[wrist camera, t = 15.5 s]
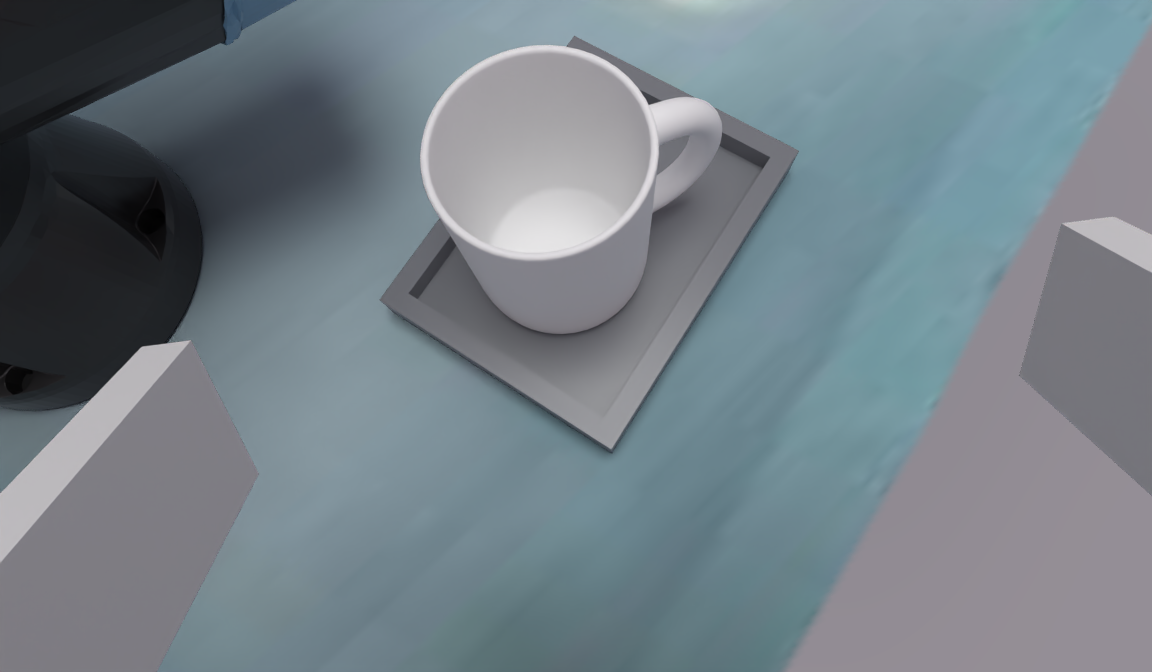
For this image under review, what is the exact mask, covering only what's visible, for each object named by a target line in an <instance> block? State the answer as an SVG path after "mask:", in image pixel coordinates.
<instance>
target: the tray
mask: <svg viewBox="0 0 1152 672" xmlns="http://www.w3.org/2000/svg"><path fill="white" fill-rule="evenodd" d="M567 47H570V48H574V49H579V50H582V51H585V52H588V53H591V54H594V55H596V56H598V57H600V58H602V59H604V60H606V61H608V62H609V63H611V64H612V65H614V66H615V67H617V68H618V69H619V70H621V71H622V72H623V73H624V74H625V75H626V76H628V77H629V78H630V79H631V81H632V82H633V83H634V84H635V85H636V86H637V87H638V89H639V90H640V92H641V93H642V95H643V96H644V97H645V99H646V101H647V103H648V105H651V104H654V103H657V102H661V101H664V100H668V99H673V98H678V97H693V96H691V95H689V94H687V93H685V92H683V91H681V90H679V89H677V88H675V87H673V86H671V85H669V84H667V83H665V82H663V81H661V80H659V79H658V78H656V77H654V76H652V75H650V74H648V73H646V72H644V71H642V70H640V69H638V68H636V67H634V66H632V65H630V64H628V63H626V62H624V61H622V60H620V59H618V58H616V57H615V56H613V55H611V54H609V53H607V52H605V51H603V50H601V49H599V48H597V47H595V46H593V45H591V44H589V43H587V42H585V41H583V40H581V39H579V38H577V37H575V36H574V37H573V38H572V40H571V41H570V42H569V44H568V45H567ZM693 98H695V97H693ZM715 109H716V108H715ZM716 110H717V112H718V114H719V117H720V119H721V122H722V137H721V142H720V145H719V148H718V150H717V152H716V154H715V156H714V158H713V159H712V161H711V163H710V164H709V166H708V167H707V169H706V170H705V171H704V173H703V174H702V175H701V176H700V177H699V178H698V179H697V180H696V181H695V182H694V183H693V185H692V186H690V187H689V188H688V189H687V190H686V191H685V192H684V193H682V194H681V195H680V196H678V197H677V198H676V199H674V200H673V201H671V202H670V203H668V204H667V205H665V206H664V207H662V208H660V209H659V210H657V211H655V212H653V213H652V220H651V228H650V236H649V246H648V253H647V261H646V265H645V269H644V272H643V276H642V278H641V281H640V283H639V285H638V287H637V289H636V291H635V292H634V294H633V296H632V297H631V298H630V300H629V301H628V302H627V303H626V305H625V306H624V307H623V308H622V309H621V310H620V311H619V312H618V313H616V314H615V315H614V316H612V317H611V318H610V319H608V320H607V321H605V322H603V323H601V324H600V325H598V326H595V327H593V328H590V329H588V330H584V331H580V332H576V333H568V334H551V333H544V332H539V331H536V330H532V329H530V328H527V327H525V326H522V325H521V324H519V323H517V322H515V321H514V320H512V319H510V318H509V317H508V316H506V315H505V314H504V313H503V312H502V311H501V310H500V309H499V308H498V307H497V306H496V305H495V304H494V303H493V302H492V301H491V299H490V298H489V297H488V295H487V294H486V293H485V291H484V290H483V288H482V286H481V285H480V283H479V281H478V280H477V278H476V277H475V275H474V273H473V272H472V270H471V268H470V267H469V265H468V264H467V262H466V260H465V259H464V257H463V255H462V254H461V252H460V250H459V249H458V247H457V246H456V244H455V242H454V241H453V239H452V237H451V236H450V234H449V233H448V231H447V229H446V228H445V226H444V224H443V223H442V221H441V220H440V219H439V220H438V221H437V223H436V224H435V225H434V227H433V228H432V229H431V231H430V232H429V233H428V235H427V236H426V238H425V239H424V240H423V242H422V243H421V244H420V246H419V247H418V248H417V250H416V251H415V252H414V254H413V255H412V256H411V258H410V259H409V261H408V262H407V263H406V265H405V266H404V267H403V269H402V270H401V271H400V273H399V274H398V275H397V277H396V278H395V280H394V281H393V282H392V284H391V285H390V286H389V288H388V289H387V290H386V292H385V293H384V294H383V296H382V297H381V298H380V301H381V302H382V303H383V304H385V305H386V306H387V307H388V308H389V309H390V310H391V311H393V312H394V313H395V314H397V315H399V316H400V317H402V318H403V319H405V320H406V321H408V322H409V323H411V324H412V325H414V326H416V327H417V328H419V329H420V330H422V331H423V332H425V333H426V334H428V335H430V336H431V337H433V338H434V339H436V340H437V341H439V342H440V343H442V344H443V345H445V346H447V347H448V348H450V349H451V350H453V351H454V352H456V353H457V354H459V355H460V356H462V357H464V358H465V359H467V360H468V361H470V362H471V363H473V364H474V365H476V366H478V367H479V368H481V369H482V370H484V371H485V372H487V373H488V374H490V375H491V376H493V377H495V378H496V379H498V380H499V381H501V382H502V383H504V384H505V385H507V386H508V387H510V388H512V389H513V390H515V391H516V392H518V393H519V394H521V395H522V396H524V397H525V398H527V399H529V400H530V401H532V402H533V403H535V404H536V405H538V406H539V407H541V408H543V409H544V410H546V411H547V412H549V413H550V414H552V415H553V416H555V417H556V418H558V419H560V420H561V421H563V422H564V423H566V424H567V425H569V426H570V427H572V428H573V429H575V430H577V431H578V432H580V433H581V434H583V435H584V436H586V437H587V438H589V439H590V440H592V441H594V442H595V443H597V444H598V445H600V446H601V447H603V448H604V449H606V450H608V451H609V452H611V453H612V452H613V451H614V449H615V447H616V446H617V444H618V443H619V441H620V439H621V438H622V436H623V435H624V433H625V431H626V430H627V428H628V427H629V425H630V423H631V422H632V420H633V419H634V417H635V415H636V414H637V412H638V411H639V409H640V407H641V406H642V404H643V403H644V401H645V400H646V398H647V396H648V395H649V393H650V392H651V390H652V388H653V387H654V385H655V384H656V382H657V380H658V379H659V377H660V376H661V374H662V372H663V371H664V369H665V368H666V366H667V364H668V363H669V361H670V360H671V358H672V356H673V355H674V353H675V352H676V350H677V348H678V347H679V345H680V344H681V342H682V340H683V339H684V337H685V336H686V334H687V333H688V331H689V329H690V328H691V326H692V325H693V323H694V321H695V320H696V318H697V317H698V315H699V313H700V312H701V310H702V309H703V307H704V305H705V304H706V302H707V301H708V299H709V297H710V296H711V294H712V293H713V291H714V289H715V288H716V286H717V285H718V283H719V281H720V280H721V278H722V277H723V275H724V274H725V272H726V270H727V269H728V267H729V266H730V264H731V262H732V261H733V259H734V258H735V256H736V254H737V253H738V251H739V250H740V248H741V246H742V245H743V243H744V242H745V240H746V238H747V237H748V235H749V234H750V232H751V230H752V229H753V227H754V226H755V224H756V222H757V221H758V219H759V218H760V216H761V214H762V213H763V211H764V210H765V208H766V207H767V205H768V203H769V202H770V200H771V199H772V197H773V195H774V194H775V192H776V191H777V189H778V187H779V186H780V184H781V183H782V181H783V179H784V178H785V176H786V175H787V173H788V171H789V169H790V168H791V166H792V164H793V162H794V160H795V158H796V156H797V154H798V152H799V151H798V150H796V149H794V148H792V147H791V146H789V145H787V144H785V143H783V142H781V141H779V140H777V139H775V138H773V137H771V136H769V135H767V134H765V133H763V132H761V131H759V130H757V129H755V128H753V127H751V126H749V125H747V124H746V123H744V122H742V121H740V120H738V119H736V118H734V117H732V116H730V115H728V114H726V113H724V112H722V111H720V110H718V109H716ZM689 137H690V135H687V136H683V137H680V138H677V139H674V140H672V141H670V142H667V143H665V144H663V145H661V146H659V159H658V167H657V175H658V174H659V173H661V172H662V171H663V170H665V169H666V168H667V167H668V166H670V165H671V164H672V163H673V162H674V161H675V160H676V159H677V158H678V157H679V155H680V154H681V153H682V151H683V150H684V149H685V147H686V145H687V143H688V140H689Z"/></svg>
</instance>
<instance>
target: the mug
mask: <svg viewBox="0 0 1152 672" xmlns="http://www.w3.org/2000/svg"><path fill="white" fill-rule="evenodd" d="M687 135H690V137H689V140H688V143H687V145H686V147H685V149H684V150H683V151H682V153H681V154H680V155H679V157H678V158H677V159H676V160H675V161H674V162H673V163H672V164H671V165H670V166H668V167H667V168H666V169H665V170H663V171H662V172H661V173H659V174H658V175H657V167H658V159H659V146H661V145H663V144H665V143H667V142H670V141H672V140H674V139H677V138H680V137H683V136H687ZM721 137H722V122H721V119H720V117H719V114H718V112H717V110H716V109H715V108H714V107H712V106H711V105H710V104H709V103H708V102H706V101H703V100H701V99H698V98H693V97H678V98H673V99H668V100H664V101H661V102H657V103H654V104H651V105H648V103H647V101H646V99H645V97H644V96H643V95H642V93H641V92H640V90H639V89H638V87H637V86H636V85H635V84H634V83H633V82H632V81H631V79H630V78H629V77H628V76H626V75H625V74H624V73H623V72H622V71H621V70H619V69H618V68H617V67H615V66H614V65H612V64H611V63H609V62H608V61H606V60H604V59H602V58H600V57H598V56H596V55H594V54H591V53H588V52H585V51H582V50H579V49H574V48H570V47H565V46H554V45H534V46H527V47H520V48H516V49H512V50H508V51H504V52H502V53H499V54H496V55H494V56H491V57H489V58H487V59H485V60H483V61H481V62H479V63H478V64H476V65H475V66H473V67H472V68H470V69H469V70H467V71H466V72H465V73H463V74H462V75H461V76H460V77H459V78H457V79H456V80H455V81H454V82H453V83H452V84H451V85H450V86H449V87H448V89H447V90H446V91H445V92H444V93H443V95H442V96H441V97H440V99H439V100H438V102H437V103H436V105H435V107H434V109H433V110H432V112H431V114H430V116H429V119H428V121H427V124H426V127H425V130H424V134H423V138H422V142H421V153H420V165H421V175H422V179H423V184H424V187H425V190H426V193H427V196H428V199H429V200H430V202H431V204H432V206H433V208H434V210H435V211H436V213H437V215H438V216H439V218H440V220H441V221H442V223H443V224H444V226H445V228H446V229H447V231H448V233H449V234H450V236H451V237H452V239H453V241H454V242H455V244H456V246H457V247H458V249H459V250H460V252H461V254H462V255H463V257H464V259H465V260H466V262H467V264H468V265H469V267H470V268H471V270H472V272H473V273H474V275H475V277H476V278H477V280H478V281H479V283H480V285H481V286H482V288H483V290H484V291H485V293H486V294H487V295H488V297H489V298H490V299H491V301H492V302H493V303H494V304H495V305H496V306H497V307H498V308H499V309H500V310H501V311H502V312H503V313H504V314H505V315H506V316H508V317H509V318H510V319H512V320H514V321H515V322H517V323H519V324H521V325H522V326H525V327H527V328H530V329H532V330H536V331H539V332H544V333H551V334H568V333H576V332H580V331H584V330H588V329H590V328H593V327H595V326H598V325H600V324H601V323H603V322H605V321H607V320H608V319H610V318H611V317H612V316H614V315H615V314H616V313H618V312H619V311H620V310H621V309H622V308H623V307H624V306H625V305H626V303H627V302H628V301H629V300H630V298H631V297H632V296H633V294H634V292H635V291H636V289H637V287H638V285H639V283H640V281H641V278H642V276H643V272H644V269H645V265H646V261H647V253H648V246H649V236H650V228H651V220H652V213H653V212H655V211H657V210H659V209H660V208H662V207H664V206H665V205H667V204H668V203H670V202H671V201H673V200H674V199H676V198H677V197H678V196H680V195H681V194H682V193H684V192H685V191H686V190H687V189H688V188H689V187H690V186H692V185H693V183H694V182H695V181H696V180H697V179H698V178H699V177H700V176H701V175H702V174H703V173H704V171H705V170H706V169H707V167H708V166H709V164H710V163H711V161H712V159H713V158H714V156H715V154H716V152H717V150H718V148H719V145H720V142H721Z"/></svg>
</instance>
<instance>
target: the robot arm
mask: <svg viewBox="0 0 1152 672" xmlns="http://www.w3.org/2000/svg"><path fill="white" fill-rule="evenodd" d="M294 1H296V0H0V407H3V408H9V409H15V410H48V409H54V408H60V407H65V406H69V405H72V404H76V403H79V402H82V401H84V400H87V399H90V398H92V397H93V398H92V399H91V400H90V401H89V402H88V403H87V404H86V405H85V406H84V407H83V408H82V409H81V410H80V411H79V412H78V413H77V415H76V416H75V417H74V418H73V419H72V420H71V421H70V422H69V423H68V424H67V425H66V426H65V427H64V428H63V429H62V430H61V431H60V432H59V433H58V434H57V435H56V436H55V437H54V438H53V439H52V440H51V441H50V443H49V444H48V445H47V446H46V447H45V448H44V449H43V450H42V451H41V452H40V453H39V454H38V455H37V456H36V457H35V458H34V459H33V460H32V461H31V462H30V463H29V464H28V465H27V466H26V467H25V468H24V469H23V471H22V472H21V473H20V474H19V475H18V476H17V477H16V478H15V479H14V480H13V481H12V482H11V483H10V484H9V485H8V486H7V487H6V488H5V489H4V490H3V491H2V492H1V493H0V672H157V670H158V668H159V666H160V664H161V663H162V661H163V659H164V657H165V655H166V653H167V651H168V649H169V647H170V645H171V643H172V641H173V639H174V637H175V635H176V633H177V632H178V630H179V628H180V626H181V624H182V622H183V620H184V618H185V616H186V614H187V612H188V610H189V608H190V606H191V604H192V603H193V601H194V599H195V597H196V595H197V593H198V591H199V589H200V587H201V585H202V583H203V581H204V579H205V577H206V575H207V574H208V572H209V570H210V568H211V566H212V564H213V562H214V560H215V558H216V556H217V554H218V552H219V550H220V548H221V546H222V545H223V543H224V541H225V539H226V537H227V535H228V533H229V531H230V529H231V527H232V525H233V523H234V521H235V519H236V517H237V516H238V514H239V512H240V510H241V508H242V506H243V504H244V502H245V500H246V498H247V496H248V494H249V492H250V490H251V488H252V487H253V485H254V483H255V481H256V479H257V477H258V475H259V473H258V471H257V469H256V467H255V465H254V463H253V461H252V460H251V458H250V456H249V454H248V452H247V450H246V448H245V446H244V444H243V442H242V440H241V438H240V436H239V434H238V432H237V430H236V428H235V426H234V424H233V422H232V420H231V418H230V416H229V414H228V412H227V410H226V408H225V406H224V404H223V402H222V400H221V398H220V396H219V394H218V392H217V390H216V388H215V386H214V384H213V382H212V380H211V378H210V376H209V374H208V373H207V371H206V369H205V367H204V365H203V363H202V361H201V359H200V357H199V355H198V353H197V351H196V349H195V347H194V345H193V343H192V341H191V340H189V341H181V342H174V343H167V344H164V343H165V342H166V340H167V339H168V338H169V336H170V335H171V334H172V332H173V331H174V329H175V328H176V326H177V325H178V323H179V321H180V319H181V318H182V316H183V314H184V312H185V310H186V308H187V306H188V304H189V302H190V299H191V297H192V294H193V292H194V289H195V285H196V282H197V278H198V274H199V269H200V263H201V254H202V237H201V227H200V221H199V217H198V213H197V210H196V207H195V204H194V202H193V200H192V197H191V195H190V194H189V192H188V190H187V188H186V187H185V185H184V184H183V182H182V181H181V180H180V178H179V177H178V176H177V175H176V174H175V173H174V172H173V171H172V170H171V169H170V168H169V167H168V166H167V165H166V164H164V163H163V162H162V161H161V160H159V159H158V158H157V157H155V156H154V155H153V154H151V153H150V152H149V151H147V150H146V149H145V148H143V147H142V146H141V145H139V144H138V143H137V142H135V141H134V140H132V139H130V138H129V137H127V136H125V135H123V134H121V133H119V132H117V131H115V130H113V129H111V128H108V127H106V126H103V125H100V124H97V123H94V122H91V121H88V120H85V119H81V118H78V117H75V116H72V115H69V114H70V113H72V112H74V111H76V110H78V109H80V108H82V107H85V106H87V105H89V104H91V103H93V102H95V101H97V100H100V99H102V98H104V97H106V96H108V95H110V94H112V93H115V92H117V91H119V90H121V89H123V88H125V87H127V86H129V85H132V84H134V83H136V82H138V81H140V80H142V79H144V78H147V77H149V76H151V75H153V74H155V73H157V72H159V71H162V70H164V69H166V68H168V67H170V66H172V65H174V64H177V63H179V62H181V61H183V60H185V59H187V58H189V57H192V56H194V55H196V54H198V53H200V52H202V51H204V50H206V49H209V48H211V47H213V46H215V45H217V44H219V43H221V44H224V45H229V44H231V43H233V40H234V39H238V37H239V36H240V34H241V30H243V29H245V28H246V27H248V26H250V25H252V24H254V23H256V22H257V21H259V20H261V19H263V18H265V17H267V16H268V15H270V14H272V13H274V12H276V11H278V10H279V9H281V8H283V7H285V6H287V5H289V4H291V3H292V2H294ZM1019 376H1020V377H1021V378H1022V379H1024V380H1025V381H1026V382H1027V383H1028V384H1029V385H1030V386H1031V387H1032V388H1033V389H1034V390H1036V391H1037V392H1038V393H1039V394H1040V395H1041V396H1042V397H1043V398H1044V399H1045V400H1047V401H1048V402H1049V403H1050V404H1051V405H1052V406H1053V407H1054V408H1055V409H1056V410H1058V411H1059V412H1060V413H1061V414H1062V415H1063V416H1064V417H1065V418H1066V419H1068V420H1069V421H1070V422H1071V423H1072V424H1073V425H1074V426H1075V427H1076V428H1077V429H1079V430H1080V431H1081V432H1082V433H1083V434H1084V435H1085V436H1086V437H1087V438H1089V439H1090V440H1091V441H1092V442H1093V443H1094V444H1095V445H1096V446H1097V447H1098V448H1100V449H1101V450H1102V451H1103V452H1104V453H1105V454H1106V455H1107V456H1108V457H1109V458H1111V459H1112V460H1113V461H1114V462H1115V463H1116V464H1117V465H1118V466H1119V467H1120V468H1122V469H1123V470H1124V471H1125V472H1126V473H1127V474H1128V475H1129V476H1131V478H1133V479H1134V480H1135V481H1136V482H1137V483H1138V484H1139V485H1140V486H1141V487H1143V488H1144V489H1145V490H1146V491H1147V492H1148V493H1149V494H1150V495H1151V496H1152V235H1151V234H1149V233H1147V232H1145V231H1143V230H1140V229H1138V228H1136V227H1134V226H1132V225H1130V224H1128V223H1126V222H1124V221H1122V220H1120V219H1118V218H1116V217H1107V218H1100V219H1092V220H1084V221H1077V222H1069V223H1063V224H1061V227H1060V231H1059V234H1058V238H1057V241H1056V245H1055V249H1054V252H1053V256H1052V259H1051V263H1050V267H1049V270H1048V274H1047V277H1046V281H1045V285H1044V288H1043V292H1042V295H1041V299H1040V302H1039V306H1038V310H1037V314H1036V317H1035V320H1034V324H1033V328H1032V331H1031V335H1030V338H1029V342H1028V346H1027V349H1026V353H1025V356H1024V360H1023V363H1022V367H1021V371H1020V374H1019Z"/></svg>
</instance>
